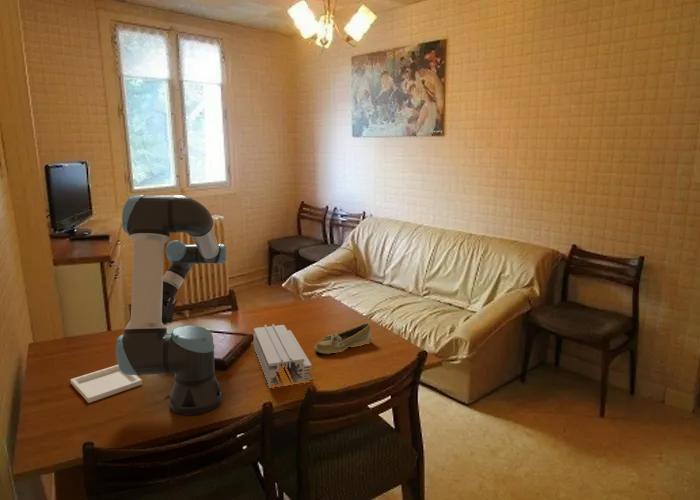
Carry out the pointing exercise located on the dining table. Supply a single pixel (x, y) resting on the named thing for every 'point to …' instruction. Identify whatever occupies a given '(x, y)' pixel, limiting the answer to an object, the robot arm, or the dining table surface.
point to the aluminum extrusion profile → (280, 354)
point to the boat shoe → (344, 340)
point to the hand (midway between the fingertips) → (140, 333)
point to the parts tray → (104, 383)
